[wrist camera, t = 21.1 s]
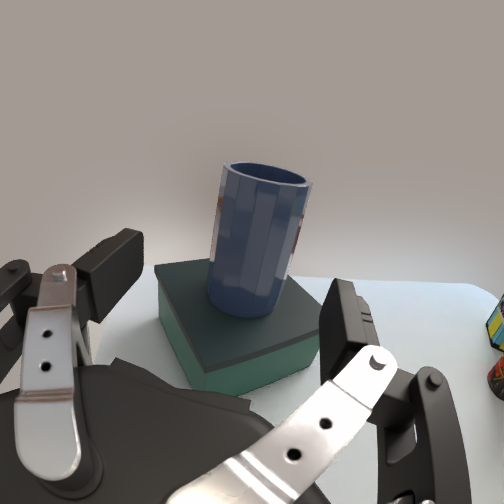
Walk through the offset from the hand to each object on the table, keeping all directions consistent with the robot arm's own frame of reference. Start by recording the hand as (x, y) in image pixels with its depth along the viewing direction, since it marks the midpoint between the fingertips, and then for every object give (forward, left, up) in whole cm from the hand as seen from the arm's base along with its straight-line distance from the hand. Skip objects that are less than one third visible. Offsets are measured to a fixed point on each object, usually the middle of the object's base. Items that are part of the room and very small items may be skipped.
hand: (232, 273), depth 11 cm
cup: (+6, +7, -7) cm, 12 cm away
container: (+6, +7, -13) cm, 16 cm away
